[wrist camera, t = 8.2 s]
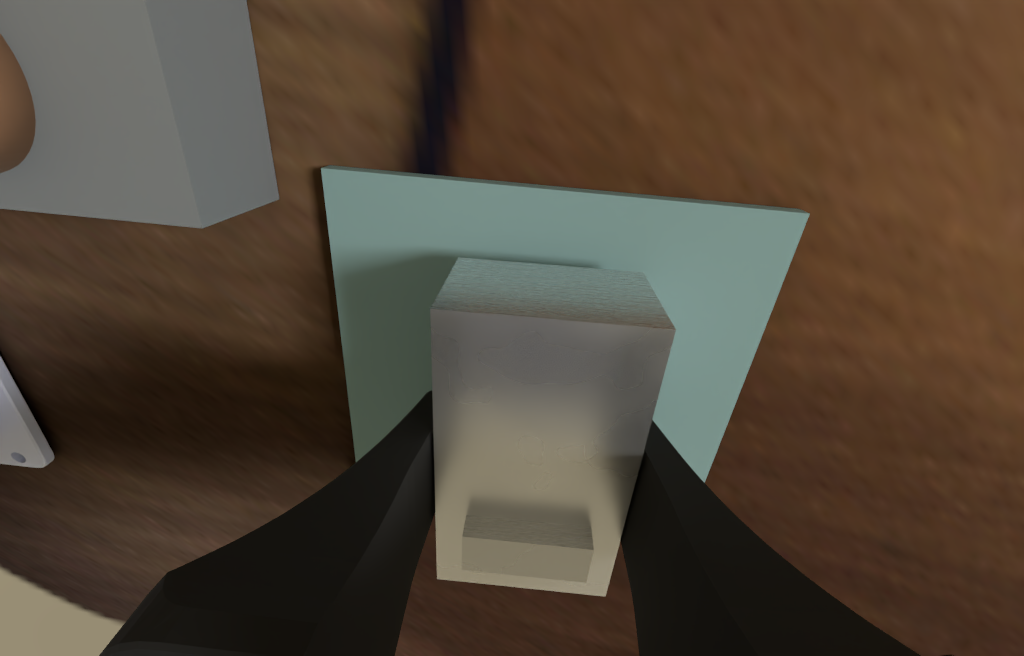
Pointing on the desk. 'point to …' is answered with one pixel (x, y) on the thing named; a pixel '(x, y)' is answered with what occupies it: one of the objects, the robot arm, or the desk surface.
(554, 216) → the rubber mat
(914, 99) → the desk surface
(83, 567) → the desk surface
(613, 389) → the lever cap
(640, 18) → the desk surface
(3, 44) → the ridged gray base plate
